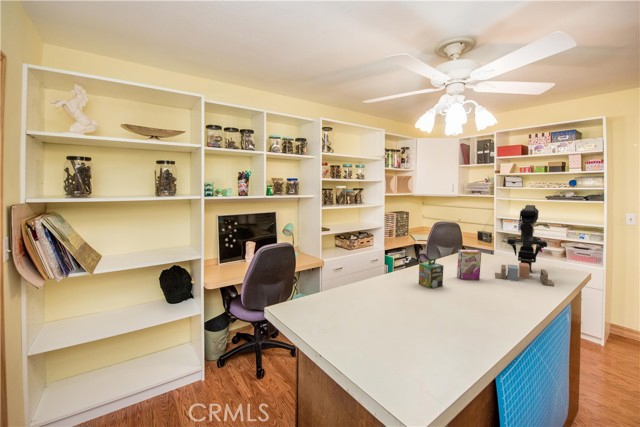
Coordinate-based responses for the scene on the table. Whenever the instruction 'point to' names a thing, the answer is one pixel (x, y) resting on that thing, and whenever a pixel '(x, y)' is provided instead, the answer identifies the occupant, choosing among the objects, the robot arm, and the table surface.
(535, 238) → the robot arm
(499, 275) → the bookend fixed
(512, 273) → the blue book
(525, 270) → the rust book
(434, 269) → the chalk box
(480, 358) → the table surface
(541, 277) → the bookend slide
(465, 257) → the candy bar box
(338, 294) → the table surface
